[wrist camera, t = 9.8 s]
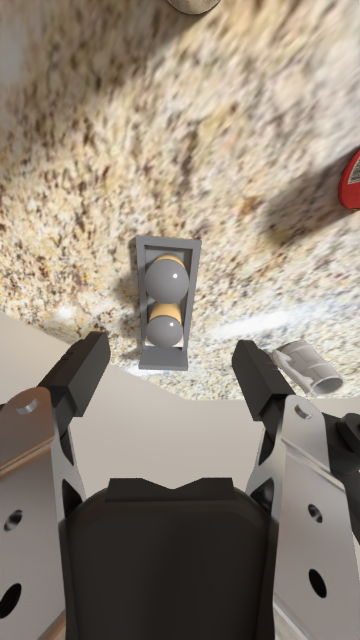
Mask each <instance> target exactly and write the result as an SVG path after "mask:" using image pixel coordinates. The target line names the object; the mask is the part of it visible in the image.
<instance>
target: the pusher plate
mask: <svg viewBox="0 0 360 640" xmlns="http://www.w3.org/2000/svg"><path fill="white" fill-rule="evenodd" d="M181 326H182V324H181ZM182 330H183V327H182ZM183 343H184V342H183V335H182V338H181V340H180V341H179V343H177V344H176V345H174V346H172V347H183ZM145 345H150V346H155V345H153V344H152V343H151V342H149V340H148V339H147V337H146V339H145Z"/></svg>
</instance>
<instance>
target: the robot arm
mask: <svg viewBox="0 0 360 640" xmlns="http://www.w3.org/2000/svg"><path fill="white" fill-rule="evenodd" d="M167 1H168V2H169V3H170V4H171V5H172V6H174V7H175V8H176V9H177V10H179V11H181V12H184V13H186V14H201V13H203V12H205V11H208V10H210V9H211V8H212V7H213V6H214V5H215V4H217V3H218V2H219V1H220V0H167ZM110 355H111V351H110V346H109V341H108V336H107V333H106V332H99V331H91V332H90V333H89V334H88V336H87V337H86V338H85V339H84V340H83V339H81V340H79V341H78V342H76V343H75V344H73V345H72V346H71V347H70V348H69V349H68V350H67V352H66V354H64V355H63V356H62V357H61V359H60V360H59V361H58V362H57V363H56V365H55V366H54V367H53V368H52V369H51V370H50V372H49V373H48V374H47V375H46V376H45V377H44V378H43V380H42V381H41V382H40V383H39V384H38V386H37V387H34V388H30V389H27V390H25V391H22V392H20V393H19V394H17V395H15V396H14V397H13V398H11V399H10V400H9V401H8V402H7V403H5V404H1V405H0V640H360V581H359V574H358V568H357V561H356V555H355V549H354V542H353V535H352V532H353V534H354V535H355V537H356V539H357V541H358V543H359V545H360V472H359V471H358V470H360V415H359V414H355V413H348V414H346V415H345V416H344V417H342V418H338V417H335V416H331V415H328V414H325V413H322V412H320V410H319V409H318V408H317V407H316V406H315V405H314V404H313V403H311V402H310V401H309V400H307V399H305V398H303V397H301V396H298V395H296V394H295V392H294V391H293V390H292V388H291V387H290V385H289V384H288V382H287V381H286V380H285V378H284V377H283V375H282V374H281V372H280V371H279V370H278V368H277V367H276V365H275V364H273V361H272V360H271V358H270V357H269V355H267V354H266V353H265V352H264V351H263V350H261V349H258V347H257V346H256V344H255V343H254V341H252V340H239V341H238V343H237V345H236V348H235V351H234V354H233V356H232V367H233V370H234V373H235V375H236V378H237V380H238V383H239V385H240V388H241V390H242V393H243V395H244V398H245V400H246V403H247V405H248V408H249V410H250V413H251V415H252V418H253V420H254V421H262V422H263V424H264V426H265V427H264V428H263V430H262V435H261V440H260V444H259V448H258V452H257V457H256V461H255V466H254V469H253V472H252V474H251V476H250V478H249V480H248V483H247V487H246V490H245V492H243V491H241V490H240V489H238V488H236V487H234V486H233V481H232V478H201V479H199V480H196V481H194V482H191V483H189V484H186V485H184V486H181V487H179V488H176V489H168V488H166V487H163V486H161V485H158V484H155V483H153V482H150V481H147V480H145V479H142V478H111V479H110V482H109V486H108V487H107V488H105V489H102V490H101V491H99V492H97V493H95V494H94V495H92V496H91V497H89V498H88V499H86V496H85V491H84V487H83V483H82V479H81V477H80V474H79V471H78V468H77V464H76V458H75V453H74V447H73V442H72V437H71V432H70V427H69V424H70V422H71V420H72V418H73V417H82V416H83V414H84V412H85V410H86V408H87V406H88V404H89V402H90V400H91V398H92V396H93V394H94V392H95V390H96V388H97V385H98V383H99V381H100V379H101V377H102V375H103V373H104V371H105V369H106V367H107V365H108V363H109V360H110Z"/></svg>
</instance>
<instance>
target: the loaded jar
mask: <svg viewBox="0 0 360 640" xmlns="http://www.w3.org/2000/svg"><path fill="white" fill-rule="evenodd" d="M182 335H183V330H182V326H181V311H180V305H179V303H178V302H176V303H173V304H163V303H159V302H157V301H156V302H155V303H154V305H153V309H152V313H151V316H150V320H149V322H148V324H147V327H146V337H147V339H148V340H149V342H151V343H152V344H153V345H155V346H158V347H162V348H167V347H172V346H174V345H176V344H177V343H179V341H180V340H181V338H182Z"/></svg>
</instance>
